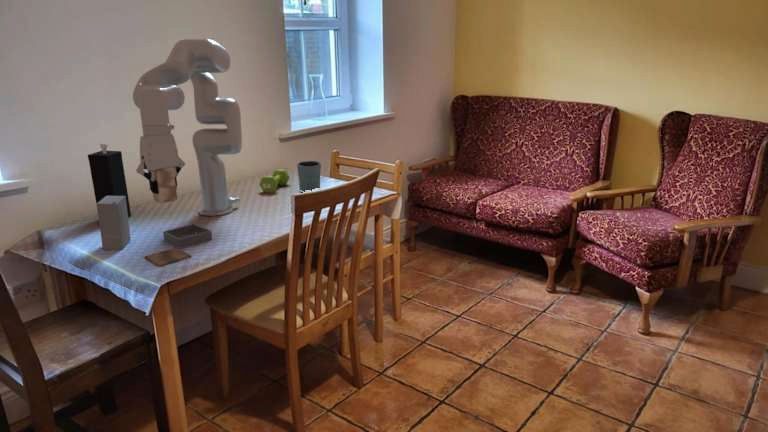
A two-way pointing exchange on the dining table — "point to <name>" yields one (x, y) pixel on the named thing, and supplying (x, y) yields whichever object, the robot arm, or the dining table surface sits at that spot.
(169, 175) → the beech block
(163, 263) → the walnut board
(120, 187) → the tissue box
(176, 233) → the bin
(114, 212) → the skincare box
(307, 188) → the grey cup
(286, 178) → the dumbbell
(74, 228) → the dining table surface
